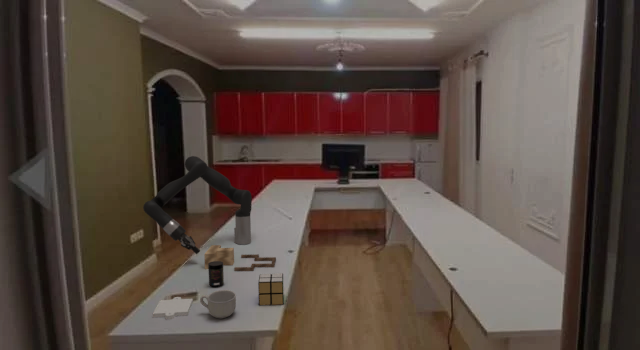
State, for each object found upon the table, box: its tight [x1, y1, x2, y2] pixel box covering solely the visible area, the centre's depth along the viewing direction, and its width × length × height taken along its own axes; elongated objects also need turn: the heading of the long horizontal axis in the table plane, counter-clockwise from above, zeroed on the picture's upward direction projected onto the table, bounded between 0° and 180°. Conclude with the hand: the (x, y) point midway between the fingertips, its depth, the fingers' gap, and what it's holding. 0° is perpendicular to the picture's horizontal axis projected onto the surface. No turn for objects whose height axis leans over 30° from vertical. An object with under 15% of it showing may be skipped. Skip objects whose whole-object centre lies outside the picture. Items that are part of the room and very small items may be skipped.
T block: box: [204, 244, 235, 270], centre depth 229 cm, size 13×16×8 cm
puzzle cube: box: [257, 272, 285, 306], centre depth 181 cm, size 10×10×10 cm
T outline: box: [233, 254, 277, 272], centre depth 230 cm, size 20×23×2 cm
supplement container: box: [207, 261, 225, 288], centre depth 198 cm, size 7×7×10 cm
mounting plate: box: [152, 296, 194, 320], centre depth 173 cm, size 18×13×2 cm
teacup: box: [199, 289, 237, 319], centre depth 168 cm, size 14×11×8 cm
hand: (198, 252), depth 228 cm, fingers closed
